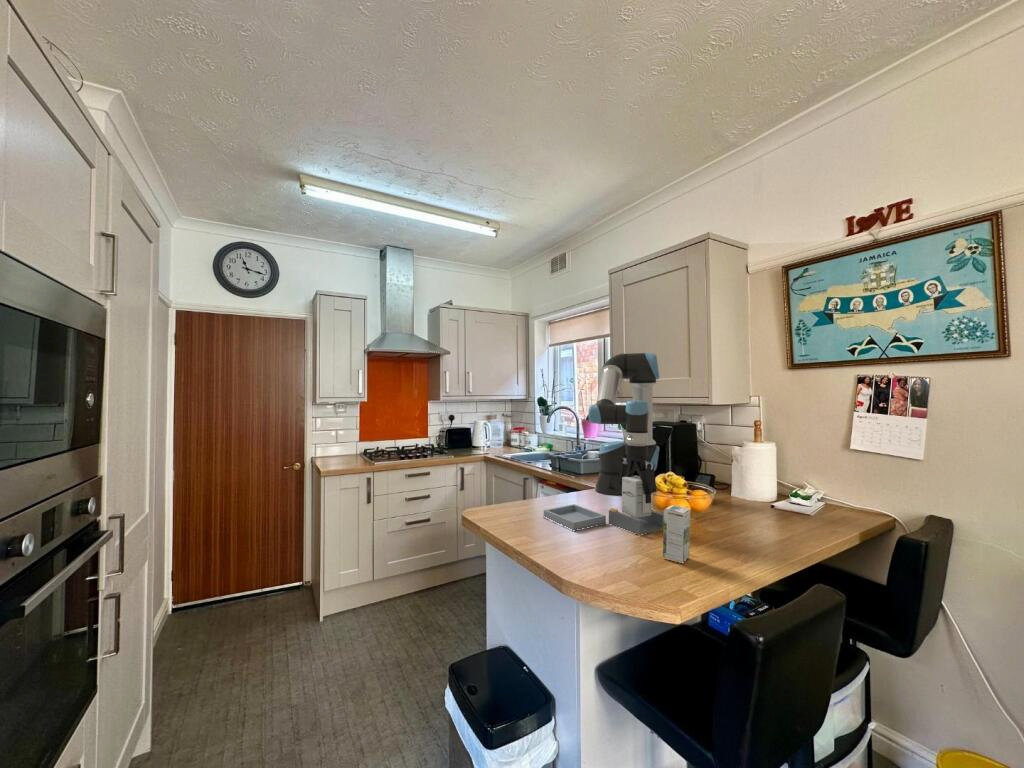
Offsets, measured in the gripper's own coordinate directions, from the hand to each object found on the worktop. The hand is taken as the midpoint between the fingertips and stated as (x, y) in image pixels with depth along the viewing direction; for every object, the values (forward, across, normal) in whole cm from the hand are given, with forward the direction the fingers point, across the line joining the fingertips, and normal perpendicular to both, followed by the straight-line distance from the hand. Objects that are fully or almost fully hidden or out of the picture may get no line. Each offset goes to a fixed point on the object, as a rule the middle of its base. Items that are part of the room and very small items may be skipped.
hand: (636, 509), depth 146 cm
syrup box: (+6, +25, -12) cm, 28 cm away
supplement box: (+2, 0, 0) cm, 2 cm away
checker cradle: (+6, 0, 0) cm, 6 cm away
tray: (+6, -16, -15) cm, 23 cm away
